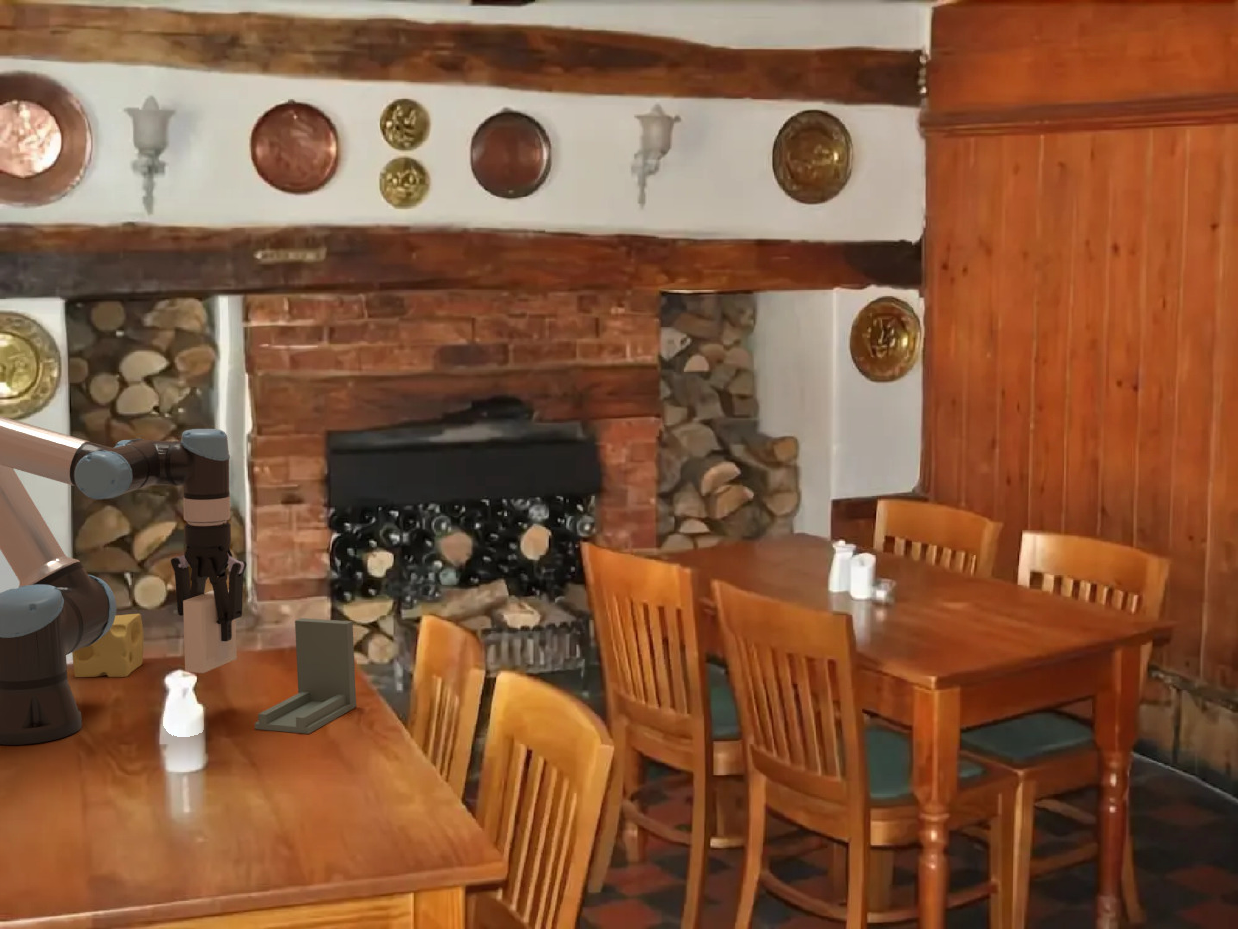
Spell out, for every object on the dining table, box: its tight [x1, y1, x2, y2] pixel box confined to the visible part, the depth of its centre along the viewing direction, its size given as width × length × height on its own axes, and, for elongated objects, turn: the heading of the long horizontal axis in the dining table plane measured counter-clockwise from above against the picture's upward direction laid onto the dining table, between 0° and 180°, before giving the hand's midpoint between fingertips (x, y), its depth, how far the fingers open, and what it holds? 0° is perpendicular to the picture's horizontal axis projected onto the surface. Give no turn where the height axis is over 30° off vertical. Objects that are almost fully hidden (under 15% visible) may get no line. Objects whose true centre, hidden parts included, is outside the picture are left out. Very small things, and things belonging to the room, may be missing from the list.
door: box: [183, 589, 237, 674], centre depth 261 cm, size 10×4×12 cm, turn 161°
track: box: [254, 617, 357, 735], centre depth 258 cm, size 16×10×15 cm, turn 161°
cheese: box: [71, 613, 144, 678], centre depth 293 cm, size 10×11×10 cm
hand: (211, 658), depth 261 cm, fingers closed on door, 4 cm apart
